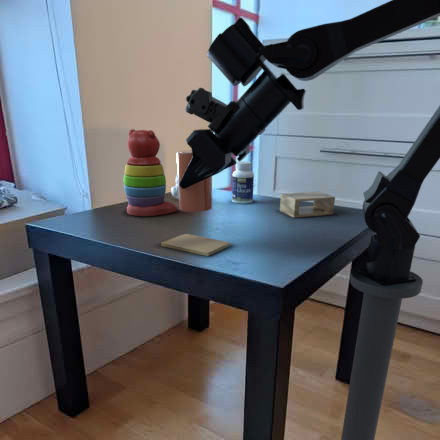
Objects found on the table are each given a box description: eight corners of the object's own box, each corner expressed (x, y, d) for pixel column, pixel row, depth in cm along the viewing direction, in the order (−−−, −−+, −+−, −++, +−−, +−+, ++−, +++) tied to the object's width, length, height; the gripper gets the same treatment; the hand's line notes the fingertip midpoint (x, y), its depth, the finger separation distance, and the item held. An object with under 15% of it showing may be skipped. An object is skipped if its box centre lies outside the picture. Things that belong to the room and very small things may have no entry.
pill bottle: (235, 204, 104) (236, 163, 100) (229, 200, 109) (229, 161, 105) (255, 203, 106) (257, 163, 102) (248, 199, 110) (250, 160, 106)
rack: (333, 214, 95) (335, 196, 93) (293, 217, 92) (295, 199, 90) (317, 208, 101) (318, 191, 99) (279, 211, 98) (280, 193, 96)
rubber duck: (175, 202, 106) (173, 169, 103) (168, 197, 112) (167, 166, 109) (195, 200, 108) (194, 168, 105) (188, 196, 114) (187, 165, 111)
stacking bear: (180, 210, 98) (177, 129, 91) (151, 219, 90) (145, 131, 83) (145, 205, 103) (139, 127, 96) (115, 213, 95) (106, 129, 88)
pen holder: (214, 205, 72) (213, 150, 69) (209, 212, 67) (208, 153, 64) (182, 204, 73) (180, 149, 69) (175, 211, 68) (172, 153, 64)
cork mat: (230, 245, 73) (230, 242, 73) (207, 256, 68) (207, 252, 67) (185, 236, 78) (185, 233, 78) (160, 245, 73) (160, 242, 72)
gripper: (232, 73, 69) (173, 142, 76) (198, 62, 53) (126, 152, 60) (277, 124, 70) (214, 188, 78) (258, 129, 54) (181, 209, 61)
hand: (187, 183), depth 69 cm, fingers closed on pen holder, 5 cm apart
